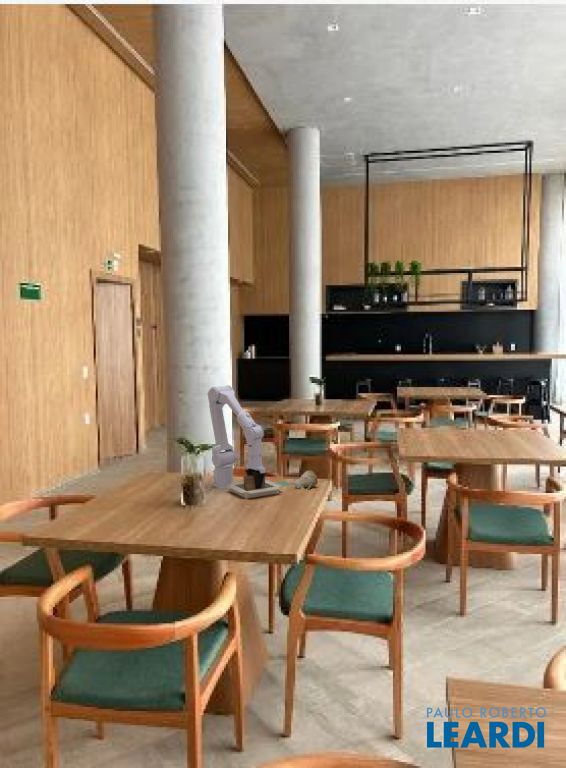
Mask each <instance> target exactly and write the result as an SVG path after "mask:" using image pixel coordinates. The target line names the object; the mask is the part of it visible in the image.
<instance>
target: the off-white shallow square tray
mask: <svg viewBox="0 0 566 768" xmlns="http://www.w3.org/2000/svg"><path fill="white" fill-rule="evenodd" d="M226 487H229V488H228V489H230V492H232V493H234V494H236V495H238V496H240V497H242V498H244V499H247V500H248V499H252V498H258V497H259V498H260V497H263V496H264V497H265V496H271V495H277V494H280V490H282V488H284V486H281V485H279V484H276V482H274V481H271V480H268V479H265V489H258V490H252V491H245V490H244V480H242V481H237V482H233V483H229V485H227V486H226Z"/></svg>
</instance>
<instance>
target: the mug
mask: <svg viewBox="0 0 566 768" xmlns="http://www.w3.org/2000/svg"><path fill="white" fill-rule="evenodd" d="M318 482H319V481H318V477H317V475H316V473H315V472H314V471H312V470H306V471H304V473H302V475H301V476H300V477H299V478H298V479H296V480H295V481H294V487H295V488H296V489H301V490H302V491H305V490H307V491H309V490H310V489H311V488H312V487H316V486H317V485H318Z"/></svg>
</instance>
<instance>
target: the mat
mask: <svg viewBox="0 0 566 768" xmlns="http://www.w3.org/2000/svg"><path fill="white" fill-rule="evenodd" d="M275 483H276V484H279V485H281V486H283V487H286V486H293V485H294V486H295V483H294V484H293V483H291V482H288V481H286V480H284V481H277V482H275Z"/></svg>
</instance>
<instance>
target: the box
mask: <svg viewBox="0 0 566 768" xmlns="http://www.w3.org/2000/svg"><path fill="white" fill-rule="evenodd" d="M265 480H266V475H265V476H264V479H263V482H262V487H261V488H260V489H265ZM242 481H244V490H245V491H252V490H258V489H256V486H255V480H254V476H253V475H247V474H246V475H243V479H242Z"/></svg>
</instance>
